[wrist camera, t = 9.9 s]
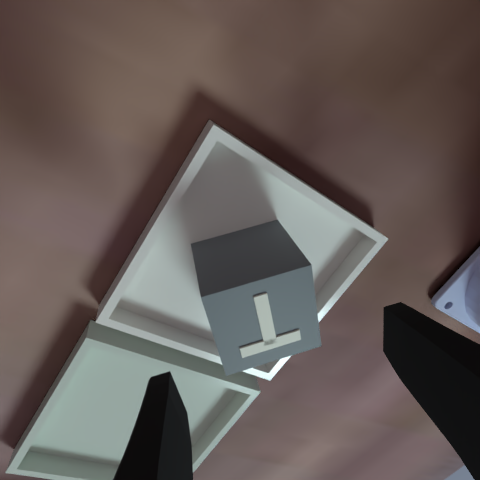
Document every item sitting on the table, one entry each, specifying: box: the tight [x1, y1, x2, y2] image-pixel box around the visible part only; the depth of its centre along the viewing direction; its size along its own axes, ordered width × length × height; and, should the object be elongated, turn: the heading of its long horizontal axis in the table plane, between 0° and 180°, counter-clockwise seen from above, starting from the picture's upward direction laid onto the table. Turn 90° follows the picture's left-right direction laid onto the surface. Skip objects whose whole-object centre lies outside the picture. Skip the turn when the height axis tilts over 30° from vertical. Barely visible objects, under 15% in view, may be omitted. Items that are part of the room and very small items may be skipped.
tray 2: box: [5, 320, 261, 480], centre depth 19 cm, size 10×10×1 cm
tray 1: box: [95, 120, 388, 380], centre depth 16 cm, size 10×10×1 cm
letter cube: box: [191, 220, 321, 376], centre depth 15 cm, size 4×4×4 cm
